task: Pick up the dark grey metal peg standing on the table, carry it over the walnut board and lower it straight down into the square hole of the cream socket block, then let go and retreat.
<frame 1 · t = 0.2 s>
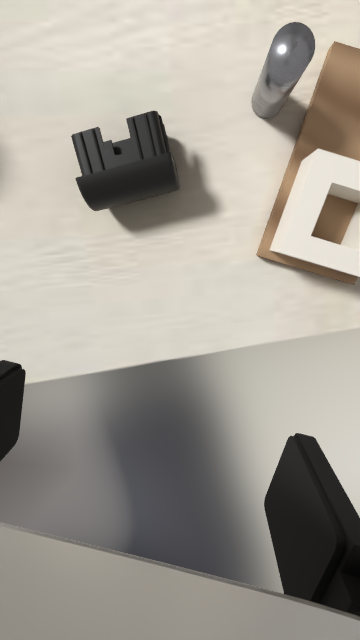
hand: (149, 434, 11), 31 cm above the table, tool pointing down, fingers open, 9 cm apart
end cap: (135, 173, 37), on the table
peg: (267, 101, 34), on the table
socket: (321, 220, 37), resting on board
board: (339, 176, 36), on the table
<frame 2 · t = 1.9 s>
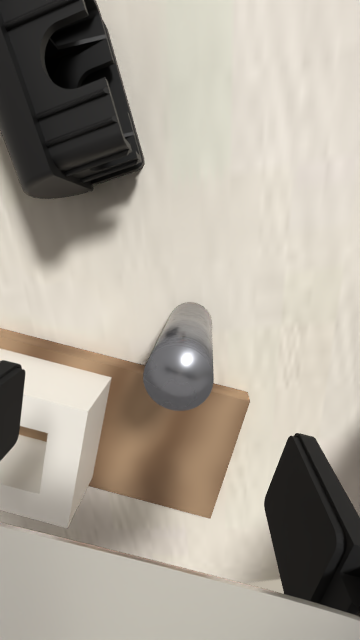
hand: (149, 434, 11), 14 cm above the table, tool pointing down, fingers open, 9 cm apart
end cap: (80, 117, 22), on the table
peg: (190, 323, 25), on the table
socket: (53, 405, 28), resting on board
board: (107, 419, 27), on the table
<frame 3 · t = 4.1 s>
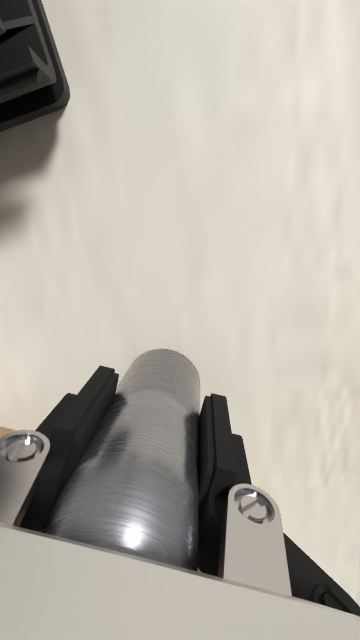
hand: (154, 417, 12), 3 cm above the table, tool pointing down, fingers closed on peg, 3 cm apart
peg: (163, 383, 14), on the table, touching gripper
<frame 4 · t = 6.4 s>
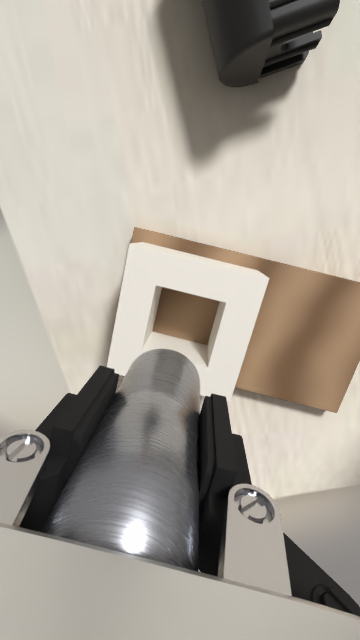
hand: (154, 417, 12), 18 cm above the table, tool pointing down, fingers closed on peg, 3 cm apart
end cap: (247, 12, 23), on the table
peg: (163, 383, 14), point 15 cm above the table, touching gripper
socket: (187, 307, 29), resting on board
board: (239, 320, 29), on the table
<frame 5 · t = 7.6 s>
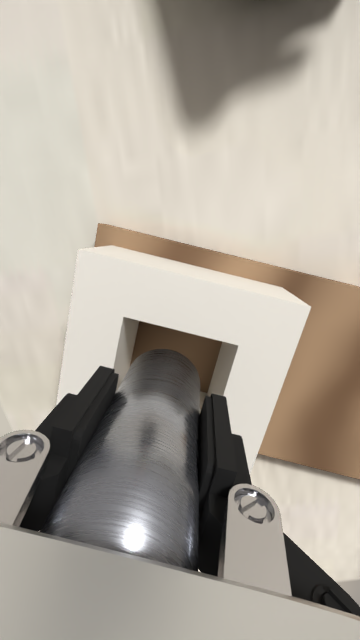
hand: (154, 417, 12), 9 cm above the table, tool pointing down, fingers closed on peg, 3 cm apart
peg: (163, 383, 14), point 7 cm above the table, touching gripper
socket: (179, 338, 21), resting on board
board: (252, 356, 20), on the table
when the fingers open (7 cm above the table, at t = 8.7 s): peg drops 2 cm, resting on board.
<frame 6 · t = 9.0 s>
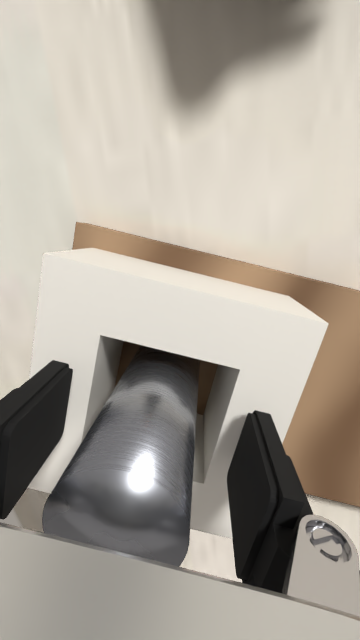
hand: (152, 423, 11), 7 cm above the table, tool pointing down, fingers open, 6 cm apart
peg: (167, 361, 17), point 2 cm above the table, touching board
socket: (171, 352, 18), resting on board
board: (254, 372, 18), on the table
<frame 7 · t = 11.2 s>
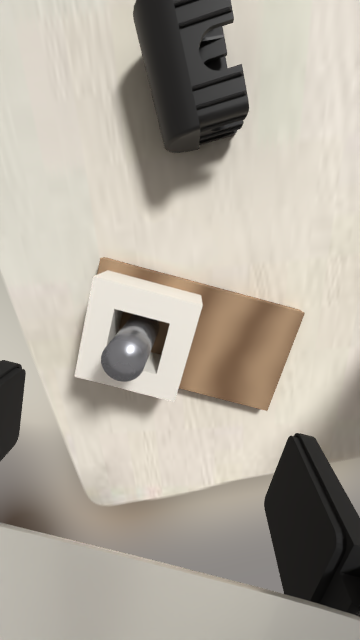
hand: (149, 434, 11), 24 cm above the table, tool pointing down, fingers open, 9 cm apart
end cap: (191, 94, 29), on the table
peg: (143, 326, 34), point 2 cm above the table, touching board
socket: (145, 323, 35), resting on board
board: (188, 334, 35), on the table
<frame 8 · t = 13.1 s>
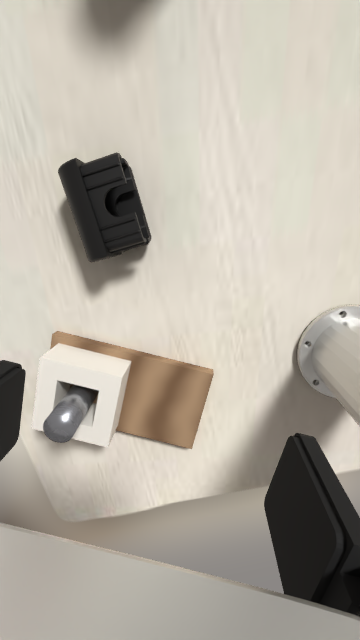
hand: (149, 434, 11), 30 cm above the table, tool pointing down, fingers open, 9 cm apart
end cap: (114, 212, 38), on the table
peg: (89, 384, 43), point 2 cm above the table, touching board
socket: (93, 380, 44), resting on board
board: (127, 388, 44), on the table
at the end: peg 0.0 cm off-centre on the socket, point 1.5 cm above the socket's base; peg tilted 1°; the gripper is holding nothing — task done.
